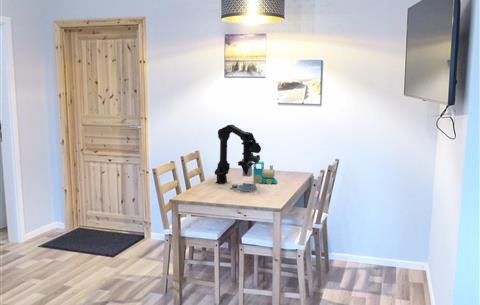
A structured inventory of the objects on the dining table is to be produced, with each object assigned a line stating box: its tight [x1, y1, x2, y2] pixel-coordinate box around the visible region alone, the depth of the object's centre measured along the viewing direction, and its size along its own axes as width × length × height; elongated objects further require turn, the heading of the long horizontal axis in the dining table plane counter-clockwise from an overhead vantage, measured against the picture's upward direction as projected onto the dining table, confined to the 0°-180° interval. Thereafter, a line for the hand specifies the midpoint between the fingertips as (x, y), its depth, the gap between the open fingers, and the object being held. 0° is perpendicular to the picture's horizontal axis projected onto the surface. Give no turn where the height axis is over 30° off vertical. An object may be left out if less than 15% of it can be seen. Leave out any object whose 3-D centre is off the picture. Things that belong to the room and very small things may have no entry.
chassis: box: [229, 182, 257, 193], centre depth 319 cm, size 15×11×3 cm
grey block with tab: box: [242, 166, 253, 178], centre depth 316 cm, size 5×4×7 cm
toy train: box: [252, 161, 278, 185], centre depth 338 cm, size 8×17×15 cm, turn 77°
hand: (247, 174), depth 317 cm, fingers closed on grey block with tab, 4 cm apart
